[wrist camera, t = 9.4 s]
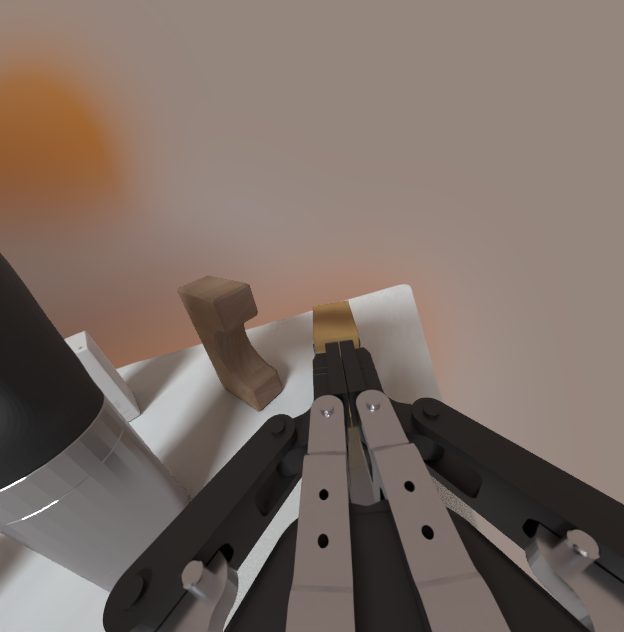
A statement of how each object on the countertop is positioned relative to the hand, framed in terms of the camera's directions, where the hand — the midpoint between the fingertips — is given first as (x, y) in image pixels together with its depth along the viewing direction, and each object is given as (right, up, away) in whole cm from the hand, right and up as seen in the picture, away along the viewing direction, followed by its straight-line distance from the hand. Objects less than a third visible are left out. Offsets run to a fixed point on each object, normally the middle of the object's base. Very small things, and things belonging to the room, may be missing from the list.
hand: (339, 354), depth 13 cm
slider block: (+3, -10, +24) cm, 27 cm away
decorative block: (-12, -11, +30) cm, 35 cm away
